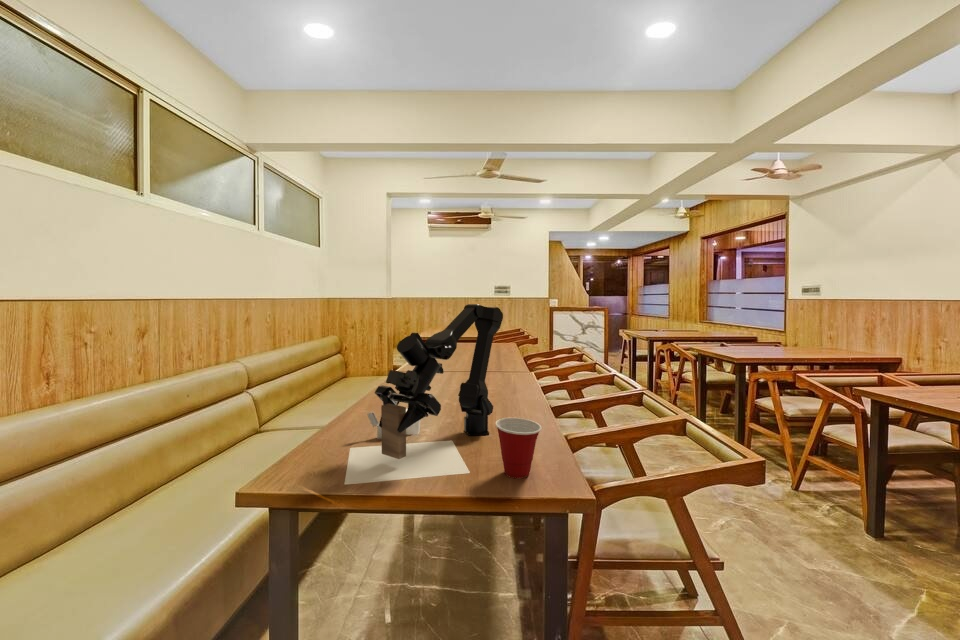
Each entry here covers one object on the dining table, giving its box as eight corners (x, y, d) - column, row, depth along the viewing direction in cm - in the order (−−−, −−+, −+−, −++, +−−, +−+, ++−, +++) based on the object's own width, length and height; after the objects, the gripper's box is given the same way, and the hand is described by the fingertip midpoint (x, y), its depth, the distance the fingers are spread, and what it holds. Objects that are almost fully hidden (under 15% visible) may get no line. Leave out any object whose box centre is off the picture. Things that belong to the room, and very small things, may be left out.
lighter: (392, 438, 126) (392, 411, 126) (391, 440, 124) (391, 413, 124) (369, 437, 126) (369, 411, 126) (367, 439, 125) (367, 412, 124)
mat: (452, 441, 123) (452, 440, 123) (470, 474, 100) (470, 472, 100) (350, 449, 117) (350, 447, 117) (344, 486, 93) (344, 484, 93)
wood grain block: (389, 450, 108) (389, 403, 107) (406, 456, 104) (406, 406, 103) (381, 453, 105) (381, 405, 105) (398, 459, 102) (398, 409, 101)
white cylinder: (425, 431, 133) (425, 409, 133) (413, 437, 127) (413, 414, 126) (407, 428, 136) (407, 406, 136) (394, 434, 130) (394, 411, 129)
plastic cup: (528, 487, 93) (529, 433, 93) (486, 476, 99) (486, 425, 98) (548, 471, 102) (549, 421, 102) (508, 461, 108) (508, 414, 108)
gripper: (379, 354, 112) (344, 404, 104) (432, 360, 101) (398, 417, 93) (402, 380, 119) (371, 429, 111) (454, 388, 108) (424, 443, 100)
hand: (389, 429), depth 103 cm, fingers closed on wood grain block, 6 cm apart
